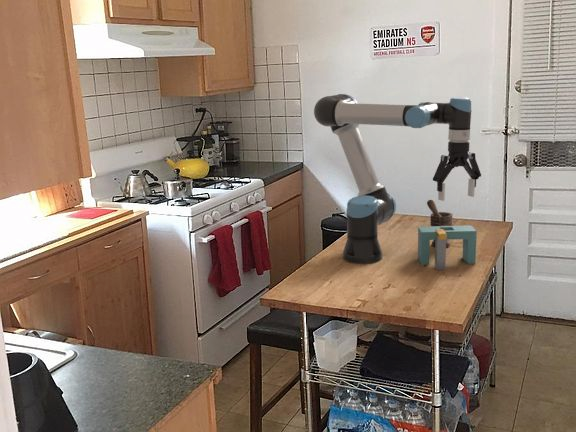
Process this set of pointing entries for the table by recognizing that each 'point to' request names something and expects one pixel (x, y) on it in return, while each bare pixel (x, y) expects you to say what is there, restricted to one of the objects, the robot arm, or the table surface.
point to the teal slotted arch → (452, 233)
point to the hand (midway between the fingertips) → (456, 198)
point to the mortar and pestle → (439, 218)
